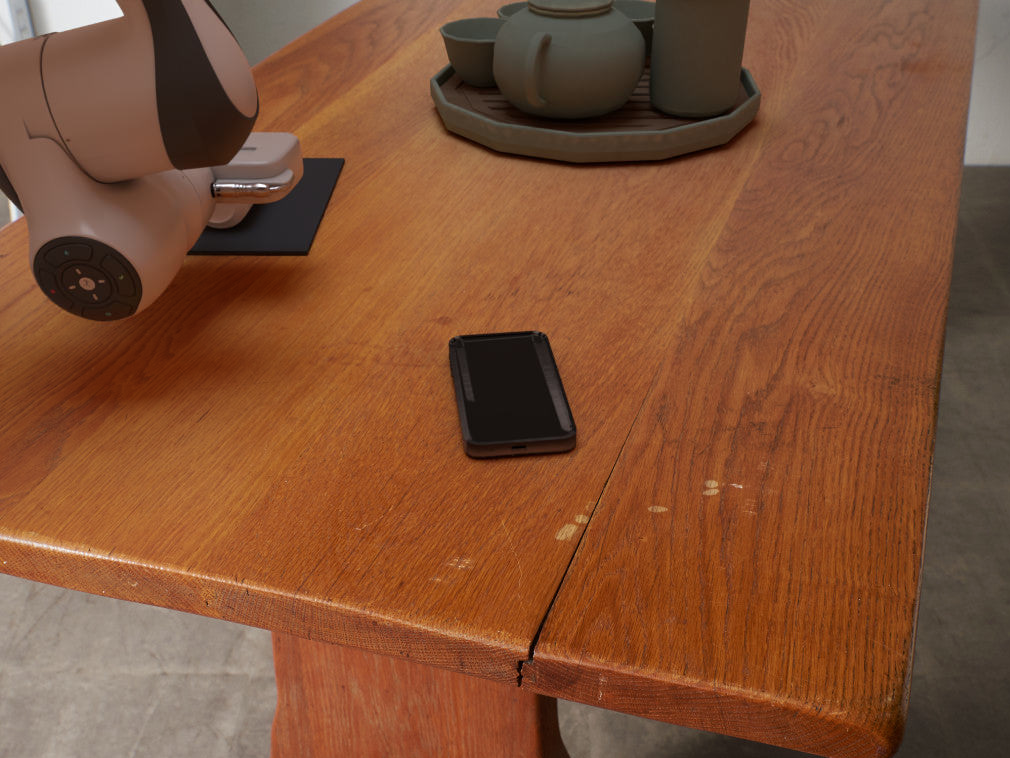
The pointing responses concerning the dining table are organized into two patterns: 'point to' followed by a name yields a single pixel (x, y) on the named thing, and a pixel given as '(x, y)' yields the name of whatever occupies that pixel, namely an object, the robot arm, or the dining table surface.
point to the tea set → (599, 78)
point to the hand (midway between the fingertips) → (201, 132)
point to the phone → (510, 395)
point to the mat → (279, 218)
